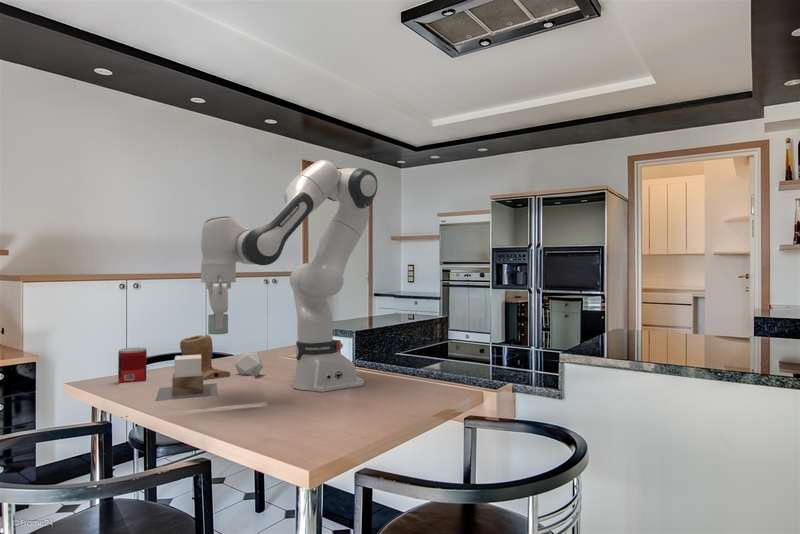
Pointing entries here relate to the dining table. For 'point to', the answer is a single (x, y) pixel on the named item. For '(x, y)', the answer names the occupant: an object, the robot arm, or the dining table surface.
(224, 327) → the sage cylinder
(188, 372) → the cream block
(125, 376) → the red box
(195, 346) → the tan boot
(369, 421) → the dining table surface
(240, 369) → the die
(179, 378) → the walnut block
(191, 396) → the slate coaster
